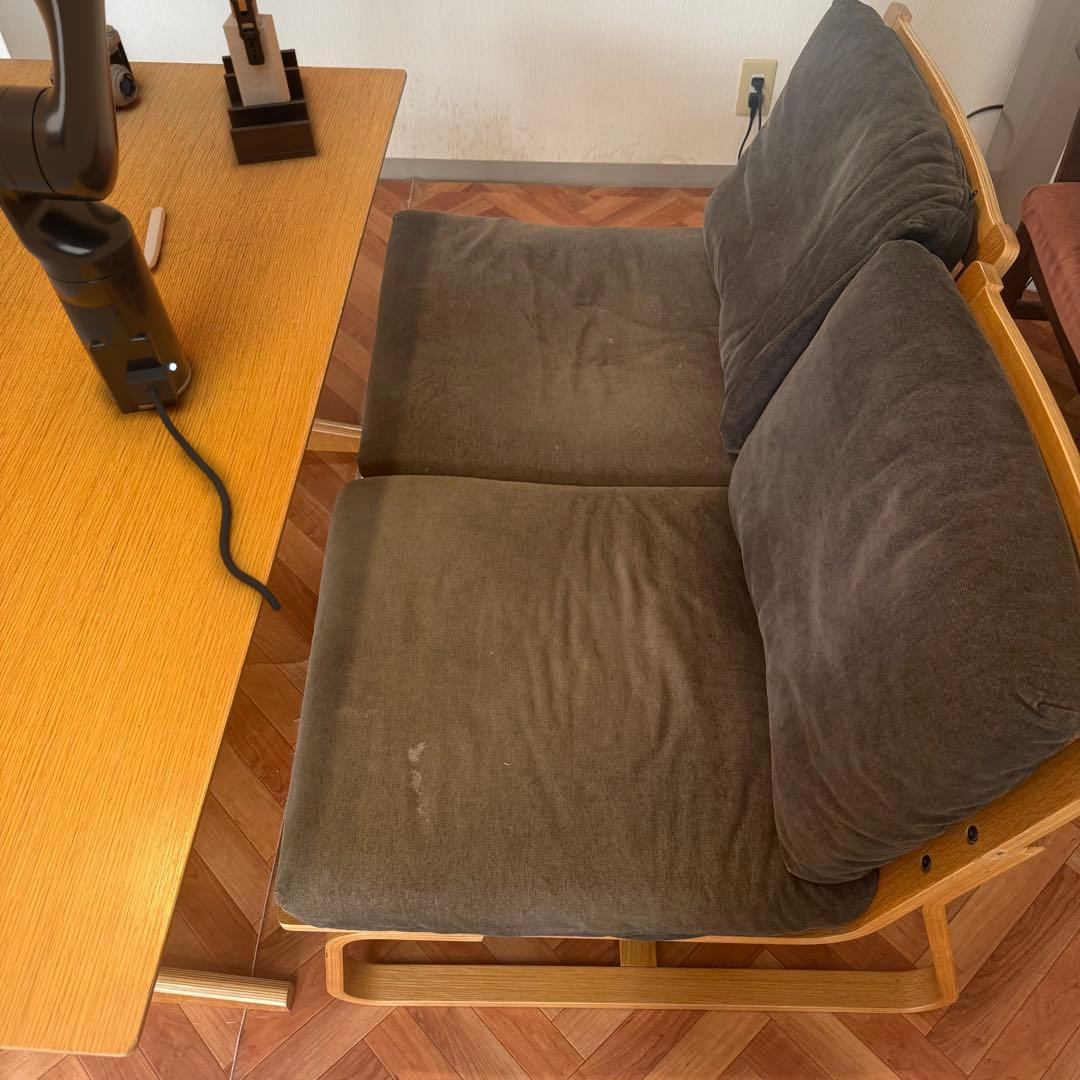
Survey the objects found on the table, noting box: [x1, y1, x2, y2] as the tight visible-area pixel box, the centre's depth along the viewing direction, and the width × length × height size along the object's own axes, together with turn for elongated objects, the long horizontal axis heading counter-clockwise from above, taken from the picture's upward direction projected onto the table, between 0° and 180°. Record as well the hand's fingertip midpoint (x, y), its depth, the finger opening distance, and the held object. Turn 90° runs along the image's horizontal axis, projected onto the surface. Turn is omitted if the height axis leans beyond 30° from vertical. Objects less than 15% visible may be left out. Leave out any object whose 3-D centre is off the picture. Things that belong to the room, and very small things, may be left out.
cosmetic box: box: [222, 12, 290, 106], centre depth 128 cm, size 6×4×12 cm
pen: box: [143, 206, 166, 270], centre depth 116 cm, size 2×14×2 cm, turn 8°
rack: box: [221, 48, 317, 166], centre depth 133 cm, size 22×11×5 cm, turn 15°
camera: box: [48, 24, 139, 108], centre depth 132 cm, size 15×7×10 cm, turn 162°
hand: (255, 53), depth 126 cm, fingers closed on cosmetic box, 5 cm apart
